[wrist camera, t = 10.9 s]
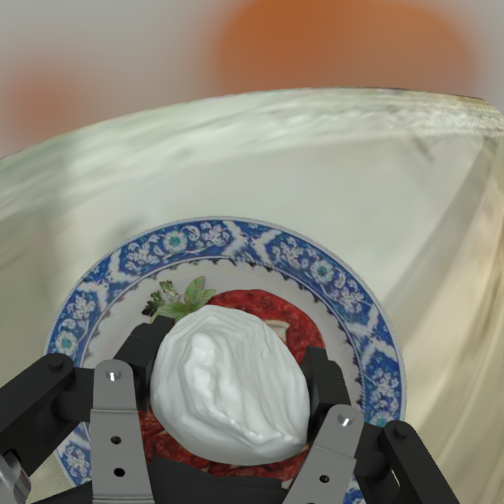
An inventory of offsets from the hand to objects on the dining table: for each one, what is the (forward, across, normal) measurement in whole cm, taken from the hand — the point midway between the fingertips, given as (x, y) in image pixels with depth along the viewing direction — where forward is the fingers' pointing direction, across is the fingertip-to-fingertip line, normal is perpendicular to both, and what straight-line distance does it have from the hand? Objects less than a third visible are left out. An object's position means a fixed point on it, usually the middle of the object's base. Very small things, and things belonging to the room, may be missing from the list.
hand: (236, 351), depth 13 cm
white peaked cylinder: (+3, 0, +5) cm, 6 cm away
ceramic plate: (+5, 0, +8) cm, 9 cm away
